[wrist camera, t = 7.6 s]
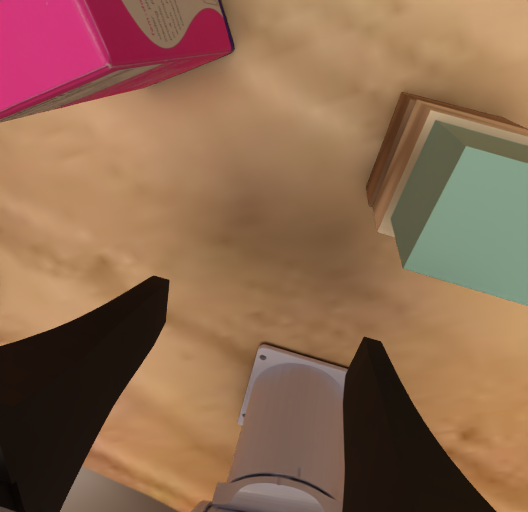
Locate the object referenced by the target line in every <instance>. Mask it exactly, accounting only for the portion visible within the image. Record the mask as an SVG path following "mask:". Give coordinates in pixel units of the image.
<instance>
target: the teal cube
mask: <svg viewBox="0 0 528 512" xmlns="http://www.w3.org/2000/svg"><path fill="white" fill-rule="evenodd" d="M390 219H391V223H392V227H393V231H394V235H395V239H396V243H397V247H398V251H399V255H400V259H401V263H402V266H403V269H406V270H410V271H413V272H416V273H420V274H423V275H426V276H430V277H433V278H436V279H440V280H443V281H446V282H450V283H453V284H456V285H460V286H463V287H466V288H470V289H473V290H476V291H480V292H483V293H486V294H490V295H493V296H496V297H500V298H503V299H506V300H510V301H513V302H516V303H520V304H523V305H526V306H527V305H528V146H526V145H523V144H519V143H516V142H512V141H509V140H505V139H501V138H498V137H494V136H491V135H487V134H484V133H480V132H476V131H473V130H469V129H466V128H462V127H459V126H455V125H452V124H448V123H444V122H441V121H437V120H435V122H434V124H433V126H432V128H431V131H430V133H429V135H428V137H427V139H426V142H425V144H424V146H423V148H422V150H421V153H420V155H419V157H418V159H417V161H416V164H415V166H414V168H413V170H412V172H411V174H410V177H409V179H408V181H407V183H406V185H405V188H404V190H403V192H402V194H401V196H400V199H399V201H398V203H397V205H396V207H395V210H394V212H393V214H392V216H391V218H390Z"/></svg>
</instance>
